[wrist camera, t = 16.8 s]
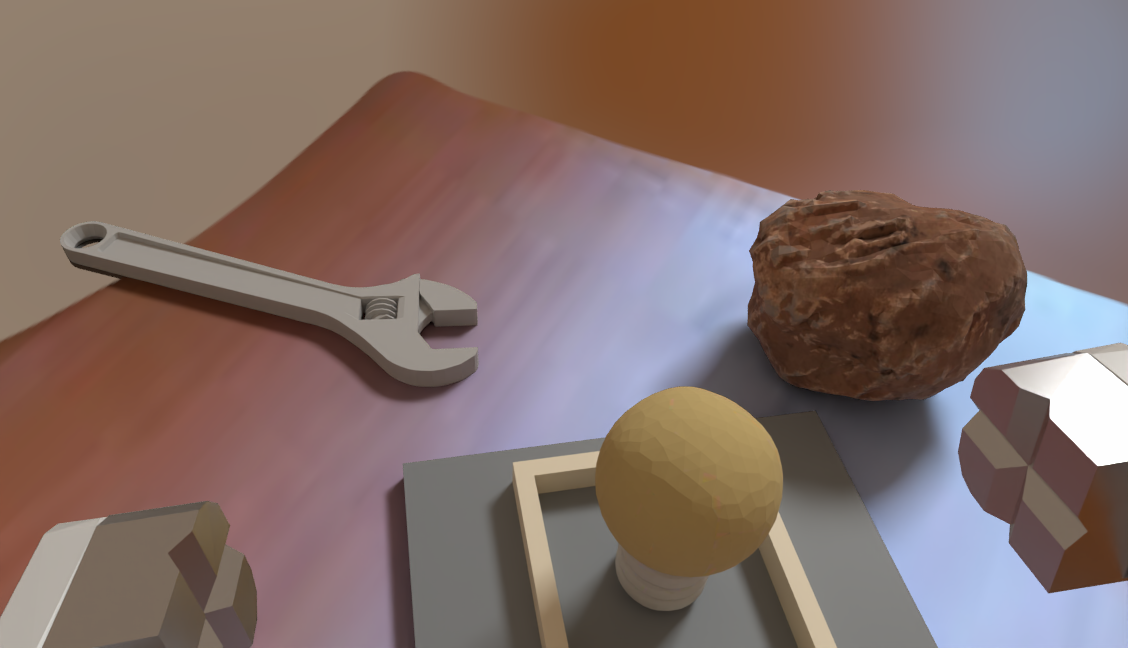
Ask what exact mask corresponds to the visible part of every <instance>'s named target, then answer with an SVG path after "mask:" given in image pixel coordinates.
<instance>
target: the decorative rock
mask: <svg viewBox="0 0 1128 648" xmlns="http://www.w3.org/2000/svg"><path fill="white" fill-rule="evenodd" d="M749 252H750V255H751V258H752V261H753V272H754V278H755V285H754V289H753V293H752V296H751V299H750V301H749V304H748V323H747V325H748V327H749V328H750V329H751V330H752V332H753V333H754V335H755V336H756V337H757V339H758V340H759V341H760V343H761V346H762V348H763V350H764V352H765V353H766V355H767V357H768V359H769V361H770V363H771V364H772V366H773V368H774V369H775V371H776V372H777V374H778V375H779V377H780V378H782V379H783V380H784V381H786V382H788V383H789V384H792V385H794V386H796V387H800V388H807V389H809V390H812V391H817V392H823V393H828V394H835V395H842V396H848V397H852V398H857V399H861V400H868V401H881V400H905V399H919V400H924V399H926V398H929V397H931V396H933V395H935V394H937V393H939V392H941V391H943V390H944V389H945V388H948V387H950V386H952V385H954V384H956V383H958V382H960V381H964V379H965V378H966V377H967V375H969V374H970V373H971V372H972V371H973V370H975V369H976V368H977V367H978V366H979V365H980V364H981V363H982V362H983V361H984V360H986V359H987V358H988V357H989V356H990V355H991V353H992V352H993V351H994V350H995V349H996V348H997V346H998V345H999V343H1001V342H1002V341H1003V340H1004V339H1006V338H1007V337H1008V336H1010V335H1011V334H1012V333H1013V332H1014V331H1015V330H1016V329H1017V327H1018V326H1019V324H1020V321H1021V319H1022V316H1023V313H1024V311H1025V293H1026V287H1027V271H1026V269H1025V266H1024V263H1023V260H1022V257H1021V254H1020V251H1019V247H1018V243H1017V240H1016V238H1015V236H1014V235H1013V233H1012V232H1011V231H1010V230H1009V228H1008V227H1007V226H1006V225H1003V224H999V223H995V222H993V221H991V220H989V219H987V218H984V217H981V216H977V215H973V214H970V213H966V212H963V211H960V210H952V209H942V208H928V207H918V206H915V205H912V204H910V203H908V202H906V201H905V200H903V199H901V198H900V197H898V196H896V195H894V194H890V193H879V192H871V191H865V190H854V191H825V192H821V193H819V194H818V196H817V197H816V198H814V199H805V200H794V199H790V200H789V201H788V202H786V203H785V204H784V205H783V206H781V207H780V208H779V209H778V210H776V211H775V212H774V213H772V214H771V215H770V216H768V217H767V218H765V219H764V220H762V221H761V222H760V227H759V232H758V236H757V238H756V240H755V242H754V244H753V245H752V247H751V248H750V250H749Z"/></svg>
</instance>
